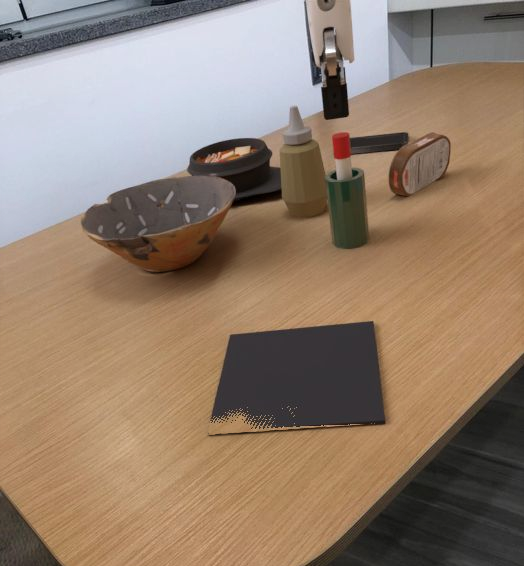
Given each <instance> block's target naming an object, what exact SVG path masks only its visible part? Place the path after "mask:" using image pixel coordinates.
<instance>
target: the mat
mask: <svg viewBox="0 0 524 566" xmlns="http://www.w3.org/2000/svg"><path fill="white" fill-rule="evenodd" d="M375 331H376V330H375V323H374V320H368V321H358V322H348V323H336V324H327V325H315V326H306V327H294V328H285V329H273V330H264V331H254V332H243V333H232V334H229V337H228V343H227V347H226V350H225V355H224V360H223V363H222V364H223V365H222V368H221V372H220V377H219V380H218V386H217V390H216V394H215V398H214V402H213V406H212V411H211V416H212V417H211V416H210V419H213V420H214V419H215V418H216V417H217V418H219V419H221V417H222V416H223V415H224V416H223V417H222V418H224V417H225V416H226V417H225V419H226V418H227V416H228V415H229V413H231V414H232V413H234V414H236V412H237V411H238V412H237V413H239V412H241V413H243V412H244V413H243V414H245V413H246V414H245V416H244V415H243V414H242V416H244V417H246V415H248V414H249V415H248V416H247V418H246V420H245V421H247V420H248V418H249V417H250V418H249V420H248V422H249V421H251V420H250V419H252V418H253V416H254V418H253V419H252V421H251V423H250V425H251V424H252V422H254V421H255V422H254V424H253V426H254V425H255V423H257V422H258V423H257V425H256V427H255V429H256V428H257V426H258V425H259V423H260V422H261V421H262V422H261V424H260V426H262V425H263V423H264V422H265V421H266V422H265V424H264V426H263V429H264V428H265V426H266V425H267V424H268V426H270V425H271V424H272V426H271V428H273V427H275V428H278V427H281V428H282V427H283V426H284V427H293V426H296V427H300V426H321V425H323V426H324V425H348V424H349V425H350V424H371V423H372V424H374V423H375V424H374V425H385V424H386V417H385V416H386V415H385V409H384V400H383V392H382V391H383V390H382V384H381V383H382V381H381V374H380V366H379V358H378V357H379V356H378V349H377V339H376V332H375ZM288 406H289V407H288ZM247 407H248V408H247ZM287 407H288V408H287ZM296 407H297V408H296ZM240 408H241V409H240ZM282 408H283V409H282ZM290 408H291V410H290ZM294 408H295V409H294ZM236 409H237V410H236ZM239 409H240V410H242V409H243V410H242V411H240V410H239ZM229 410H230V411H229ZM232 410H233V411H232ZM289 410H290V411H289ZM231 411H232V412H231ZM234 411H235V412H234ZM247 411H248V412H247ZM225 412H226V413H225ZM228 412H229V413H228ZM292 412H293V413H292ZM227 413H228V414H227ZM241 413H240V414H239V415H241ZM291 413H292V414H291ZM231 414H230V415H229V417H230V416H231ZM234 414H233V415H234ZM233 415H232V417H233ZM236 415H237V414H236ZM236 415H235V416H236ZM239 415H238V416H239ZM250 415H251V416H250ZM261 415H262V416H261ZM265 415H266V416H265ZM268 415H269V416H268ZM272 415H273V416H272ZM294 415H295V416H294ZM214 416H215V417H214ZM219 416H220V417H219ZM256 416H258V417H256ZM260 416H261V418H260ZM264 416H265V417H264ZM293 416H294V417H293ZM213 417H214V418H213ZM271 417H272V418H271ZM217 418H216V419H215V421H216V420H217ZM237 418H238V417H237ZM259 418H260V419H259ZM263 418H264V419H263ZM270 418H271V420H269V419H270ZM274 418H275V419H274ZM210 419H209V422H210V421H212V422H213V420H210ZM219 419H218V420H219ZM228 419H229V418H227V420H228ZM254 419H256V420H254ZM258 419H259V420H258ZM262 419H263V420H262ZM265 419H267V420H265ZM221 420H223V419H221ZM242 420H243V419H242ZM215 421H214V423H215ZM223 421H225V420H223ZM232 421H233V420H232ZM235 421H236V420H235ZM245 421H244V423H245ZM269 421H270V422H269ZM273 421H274V422H273ZM212 422H211V423H212ZM217 422H218V421H217ZM220 422H221V421H220ZM220 422H219V423H220ZM226 422H227V421H226ZM248 422H247V424H248ZM268 422H269V423H268ZM272 422H273V423H272ZM222 423H223V422H222ZM231 423H232V422H231ZM294 423H295V424H294ZM275 425H276V426H275ZM260 426H259V429H260V428H261V427H260ZM268 426H267V428H269V427H268ZM252 428H253V427H252ZM252 428H251V429H252Z"/></svg>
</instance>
